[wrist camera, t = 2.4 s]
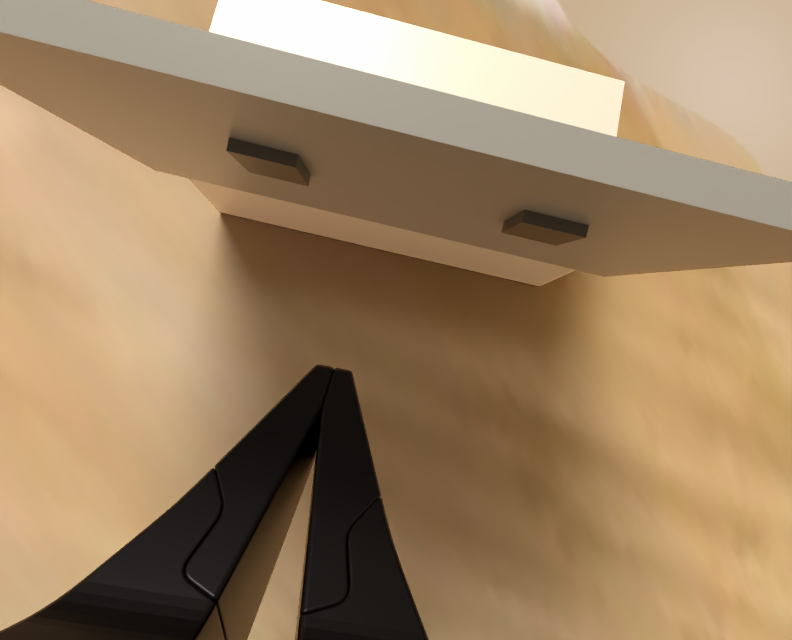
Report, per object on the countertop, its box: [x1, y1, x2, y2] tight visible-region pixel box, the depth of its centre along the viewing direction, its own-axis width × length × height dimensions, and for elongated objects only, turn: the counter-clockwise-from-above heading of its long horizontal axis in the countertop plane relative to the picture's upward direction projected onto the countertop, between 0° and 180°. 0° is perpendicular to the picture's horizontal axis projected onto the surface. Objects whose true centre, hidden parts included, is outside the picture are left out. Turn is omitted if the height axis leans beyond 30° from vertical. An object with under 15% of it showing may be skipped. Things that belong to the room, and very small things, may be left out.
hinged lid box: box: [189, 0, 625, 287], centre depth 19 cm, size 8×25×6 cm, turn 78°
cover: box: [0, 0, 792, 277], centre depth 11 cm, size 9×18×1 cm
